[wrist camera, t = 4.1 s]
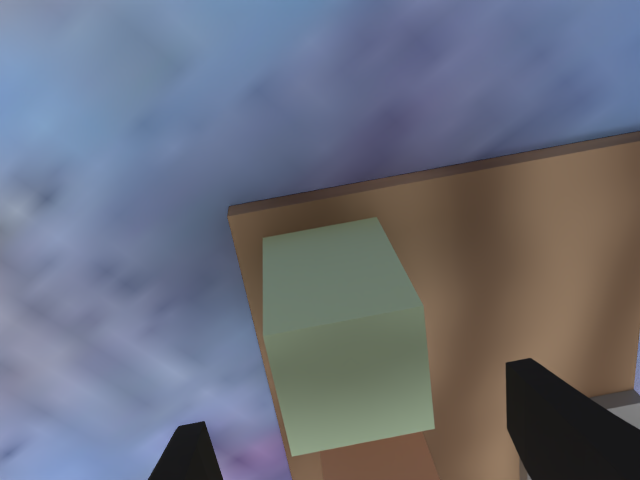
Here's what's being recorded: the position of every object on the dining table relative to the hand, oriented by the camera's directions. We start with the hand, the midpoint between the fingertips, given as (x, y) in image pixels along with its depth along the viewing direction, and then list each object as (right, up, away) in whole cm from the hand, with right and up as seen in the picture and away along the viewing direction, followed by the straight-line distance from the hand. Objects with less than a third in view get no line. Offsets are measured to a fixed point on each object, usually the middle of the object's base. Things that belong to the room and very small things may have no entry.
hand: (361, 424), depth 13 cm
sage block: (-1, +3, +7) cm, 7 cm away
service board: (+5, -3, +11) cm, 13 cm away
